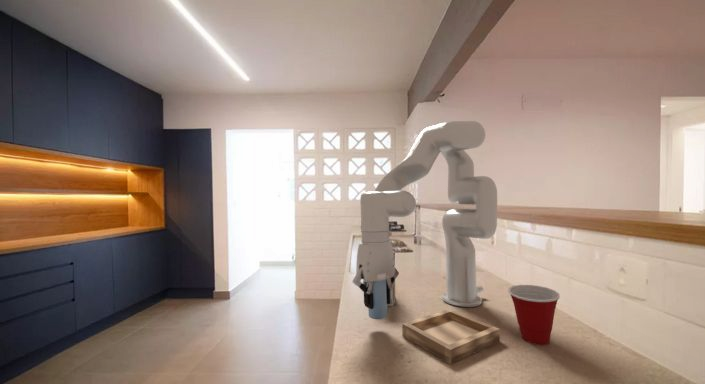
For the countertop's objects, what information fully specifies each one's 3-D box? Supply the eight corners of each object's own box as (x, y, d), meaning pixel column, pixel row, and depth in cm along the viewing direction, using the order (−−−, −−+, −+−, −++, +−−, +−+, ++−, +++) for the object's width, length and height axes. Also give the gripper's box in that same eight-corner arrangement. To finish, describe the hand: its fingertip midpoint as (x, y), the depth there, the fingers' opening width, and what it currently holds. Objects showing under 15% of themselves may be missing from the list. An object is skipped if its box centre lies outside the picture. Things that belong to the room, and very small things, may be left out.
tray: (449, 319, 81) (449, 309, 81) (499, 341, 68) (499, 328, 68) (402, 335, 71) (402, 323, 71) (450, 364, 58) (450, 349, 58)
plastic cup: (499, 334, 72) (498, 286, 72) (528, 326, 76) (527, 282, 76) (541, 355, 61) (539, 300, 62) (572, 345, 65) (570, 294, 66)
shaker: (379, 309, 78) (378, 268, 79) (391, 316, 74) (390, 272, 74) (364, 314, 76) (363, 271, 76) (375, 321, 71) (374, 275, 71)
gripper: (391, 233, 83) (393, 294, 82) (341, 239, 74) (343, 307, 73) (408, 235, 76) (410, 302, 76) (356, 242, 68) (358, 317, 67)
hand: (377, 304), depth 75 cm, fingers closed on shaker, 5 cm apart
